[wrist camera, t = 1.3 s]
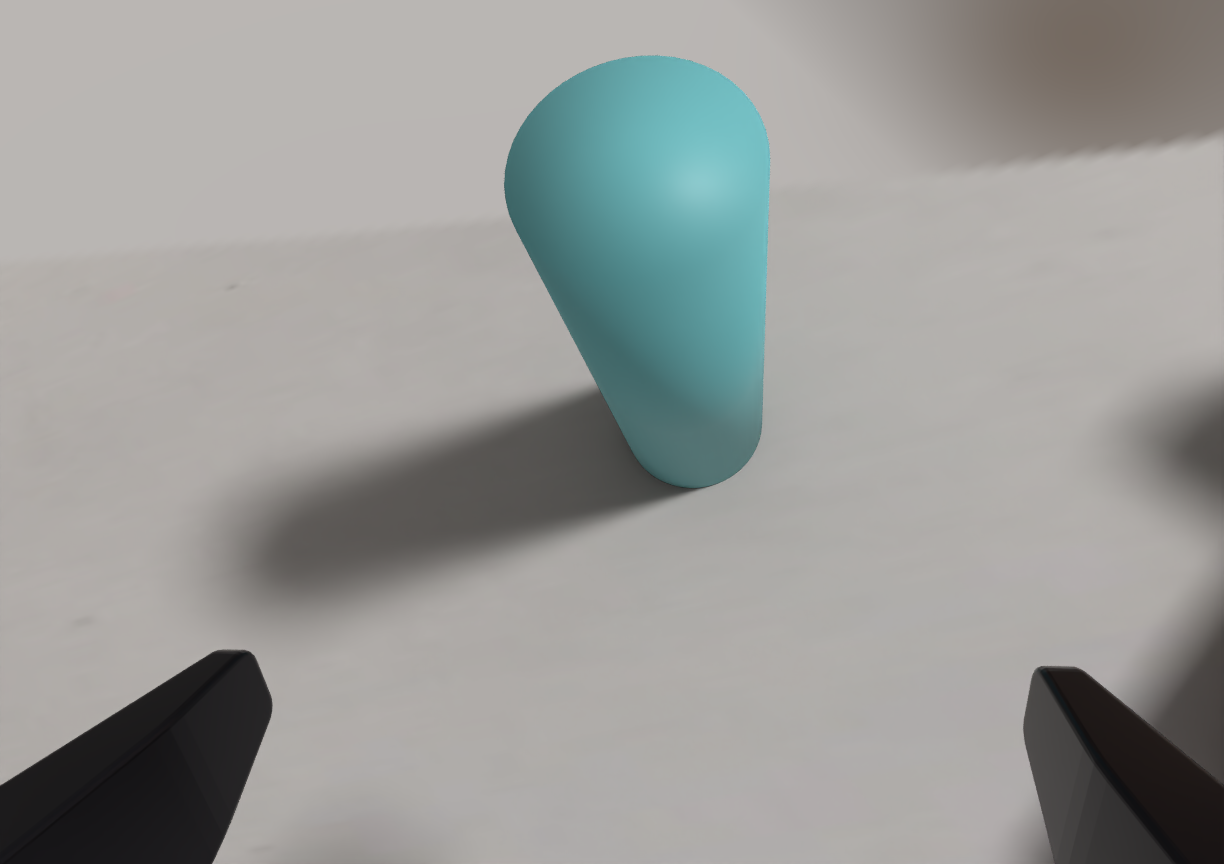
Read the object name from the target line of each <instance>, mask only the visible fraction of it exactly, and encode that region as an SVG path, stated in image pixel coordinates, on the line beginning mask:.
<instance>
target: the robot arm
mask: <svg viewBox="0 0 1224 864" xmlns="http://www.w3.org/2000/svg"><path fill="white" fill-rule="evenodd" d="M271 714H272V698H271V694H270V692H269V690H268V687H267V685H266V682H265V680H264V677H263V675H262V672H261V670H260V667H259V665H258V662H257V660H256V658H255V656H254V655H253V654H252V653H251V652H249V651H246V650H217V651H214V652H212V653H211V654H209V655H207V656H206V657H204V658H203V659H201V660H199V661H198V662H196V663H195V664H193V665H192V666H190V667H188V668H187V669H185V670H184V671H182V672H180V673H179V674H177V675H176V676H174V677H172V678H171V679H169V680H168V681H166V682H164V683H163V684H161V685H160V686H158V687H156V688H155V689H153V690H152V691H150V692H149V693H147V694H145V695H144V696H142V697H141V698H139V699H137V700H136V701H134V702H133V703H131V704H129V705H128V706H126V707H125V708H123V709H121V710H120V711H118V712H117V713H115V714H113V715H112V716H110V717H109V718H107V719H106V720H104V721H102V722H101V723H99V724H98V725H96V726H94V727H93V728H91V729H90V730H88V731H86V732H85V733H83V734H82V735H80V736H78V737H77V738H75V739H74V740H72V741H70V742H69V743H67V744H66V745H64V746H63V747H61V748H59V749H58V750H56V751H55V752H53V753H51V754H50V755H48V756H47V757H45V758H43V759H42V760H40V761H39V762H37V763H35V764H34V765H32V766H31V767H29V768H28V769H26V770H24V771H23V772H21V773H20V774H18V775H16V776H15V777H13V778H12V779H10V780H8V781H7V782H5V783H4V784H2V785H0V864H212V863H213V861H214V859H215V857H216V855H217V852H218V850H219V848H220V846H221V844H222V842H223V840H224V837H225V835H226V832H227V830H228V828H229V825H230V823H231V820H232V818H233V816H234V813H235V810H236V808H237V805H238V802H239V800H240V797H241V795H242V792H243V789H244V787H245V784H246V781H247V779H248V776H249V774H250V771H251V768H252V766H253V763H254V760H255V758H256V755H257V753H258V750H259V747H260V745H261V742H262V739H263V737H264V734H265V732H266V729H267V726H268V724H269V721H270V718H271ZM1023 731H1024V740H1025V745H1026V750H1027V754H1028V758H1029V762H1030V766H1031V770H1032V774H1033V778H1034V782H1035V786H1036V790H1037V794H1038V798H1039V802H1040V806H1041V809H1042V813H1043V817H1044V821H1045V825H1046V829H1047V833H1048V837H1049V841H1050V845H1051V849H1052V853H1053V857H1054V861H1055V864H1224V785H1223V784H1222V783H1220V782H1219V781H1218V780H1217V779H1216V778H1214V777H1213V776H1212V775H1211V774H1209V773H1208V772H1207V771H1206V770H1205V769H1203V768H1202V767H1201V766H1200V765H1198V764H1197V763H1196V762H1195V761H1194V760H1192V759H1191V758H1190V757H1189V756H1187V755H1186V754H1185V753H1184V752H1183V751H1181V750H1180V749H1179V748H1178V747H1177V746H1175V745H1174V744H1173V743H1172V742H1170V741H1169V740H1168V739H1167V738H1166V737H1164V736H1163V735H1162V734H1161V733H1159V732H1158V731H1157V730H1156V729H1155V728H1153V727H1152V726H1151V725H1150V724H1148V723H1147V722H1146V721H1145V720H1144V719H1142V718H1141V717H1140V716H1139V715H1137V714H1136V713H1135V712H1134V711H1133V710H1131V709H1130V708H1129V707H1128V706H1126V705H1125V704H1124V703H1123V702H1122V701H1120V700H1119V699H1118V698H1117V697H1115V696H1114V695H1113V694H1112V693H1111V692H1109V691H1108V690H1107V689H1106V688H1104V687H1103V686H1102V685H1101V684H1100V683H1098V682H1097V681H1096V680H1095V679H1093V678H1092V677H1091V676H1090V675H1089V674H1087V673H1086V672H1085V671H1083V670H1081V669H1079V668H1077V667H1067V666H1041V667H1038V668H1037V669H1036V670H1035V671H1034V673H1033V675H1032V679H1031V685H1030V690H1029V695H1028V701H1027V706H1026V711H1025V717H1024V724H1023Z"/></svg>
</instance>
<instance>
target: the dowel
mask: <svg viewBox="0 0 1224 864" xmlns="http://www.w3.org/2000/svg"><path fill="white" fill-rule="evenodd" d="M769 180H770V151H769V142H768V137H767V133H766V129H765V127H764V125H763V122H762V119H761V117H760V115H759V113H758V111H757V110H756V108H755V106H754V105H753V103H752V102H751V101H750V99H749V98H748V97H747V96H746V95H745V93H744V92H743V91H742V90H741V89H739V88H738V87H737V86H736V85H735V84H734V83H733V82H732V81H730V80H729V79H728V78H726V77H725V76H723V75H721V74H720V73H719V72H716V71H714V70H712V69H710V68H708V67H706V66H704V65H701V64H698V63H695V62H693V61H690V60H685V59H680V58H676V57H667V56H636V57H628V58H622V59H618V60H613V61H609V62H606V63H603V64H600V65H597V66H594V67H592V68H589V69H587V70H585V71H583V72H581V73H579V74H577V75H575V76H573V77H572V78H570V79H569V80H567V81H565V82H563V83H562V84H561V85H560V86H558V87H557V88H555V89H554V90H553V91H552V92H550V93H549V94H548V95H547V96H546V97H545V98H544V99H543V100H542V101H541V102H540V103H539V104H538V105H537V106H536V107H535V108H534V109H533V111H532V112H531V113H530V114H529V115H528V117H527V118H526V120H525V121H524V123H523V124H522V126H521V127H520V129H519V131H518V133H517V135H516V137H515V139H514V141H513V143H512V146H511V149H510V152H509V155H508V159H507V164H506V169H505V182H504V188H505V198H506V203H507V208H508V212H509V215H510V218H511V220H512V222H513V225H514V227H515V229H516V231H517V233H518V235H519V237H520V239H521V241H522V242H523V244H524V246H525V248H526V250H527V252H528V254H529V256H530V258H531V260H532V261H533V263H534V265H535V267H536V269H537V271H538V273H539V275H540V277H541V279H542V281H543V282H544V284H545V286H546V288H547V290H548V292H549V294H550V296H551V298H552V300H553V302H554V303H555V305H556V307H557V309H558V311H559V313H560V315H561V317H562V319H563V321H564V322H565V324H566V326H567V328H568V330H569V332H570V334H571V336H572V338H573V340H574V342H575V343H576V345H577V347H578V349H579V351H580V353H581V355H582V357H583V359H584V361H585V362H586V364H587V366H588V368H589V370H590V372H591V374H592V376H593V378H594V380H595V382H596V383H597V385H598V387H599V389H600V391H601V393H602V395H603V397H604V399H605V401H606V402H607V404H608V406H609V408H610V410H611V412H612V414H613V416H614V418H615V420H616V422H617V423H618V425H619V427H620V429H621V431H622V433H623V435H624V437H625V439H626V441H627V442H628V444H629V446H630V448H631V450H632V452H633V454H634V455H635V457H636V459H637V460H638V462H639V463H640V464H641V465H642V466H643V468H644V469H646V470H647V471H648V472H649V473H650V474H651V475H653V476H654V477H656V478H657V479H659V480H661V481H663V482H665V483H668V484H671V485H674V486H679V487H685V488H701V487H707V486H711V485H714V484H718V483H720V482H722V481H724V480H726V479H728V478H730V477H731V476H733V475H734V474H736V473H737V472H738V471H739V470H741V469H742V467H743V466H744V465H745V464H746V463H747V462H748V461H749V459H750V458H751V457H752V455H753V453H754V451H755V449H756V447H757V445H758V442H759V439H760V435H761V428H762V405H763V373H764V341H765V309H766V276H767V244H768V212H769Z"/></svg>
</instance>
